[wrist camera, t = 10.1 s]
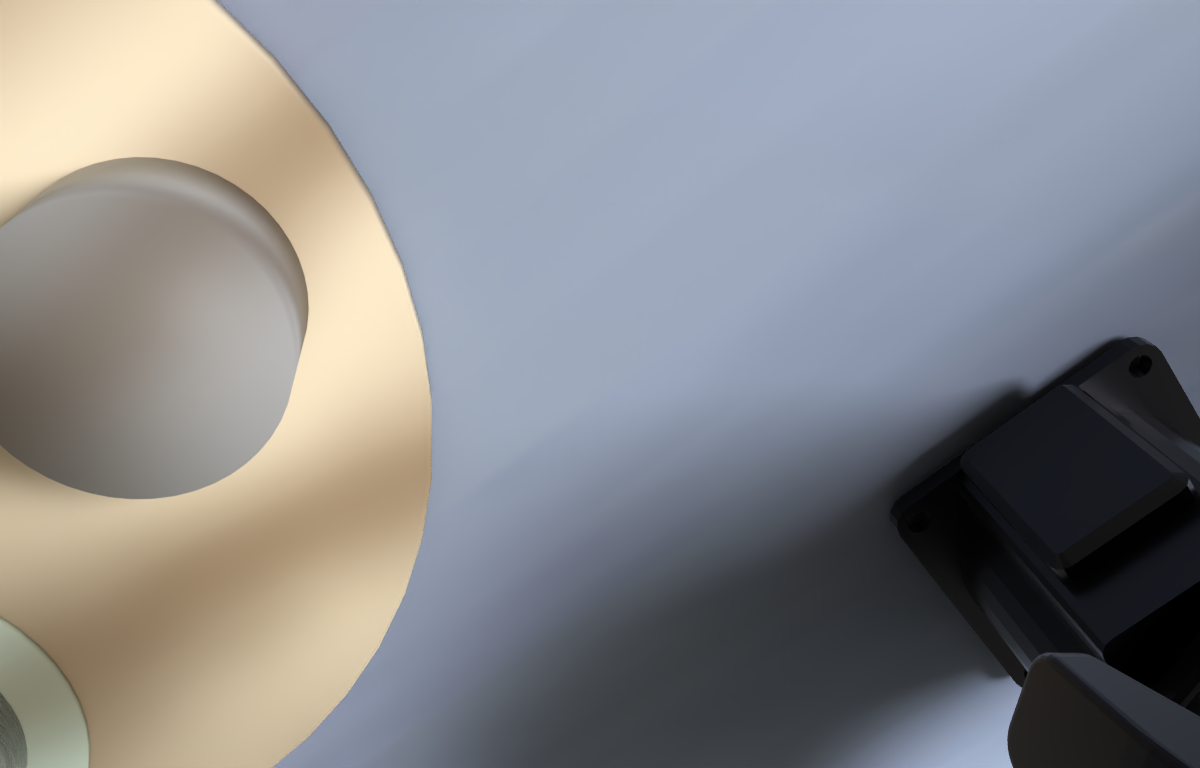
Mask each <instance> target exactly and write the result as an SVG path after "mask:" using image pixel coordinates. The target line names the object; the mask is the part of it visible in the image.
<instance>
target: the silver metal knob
mask: <svg viewBox="0 0 1200 768" xmlns="http://www.w3.org/2000/svg"><path fill="white" fill-rule="evenodd" d="M27 764H28V754H27V744H26V739H25V734H24V731H23V729H22V726H21V723H20V721H19V719H18V717H17V715H16V714H15V712H14V710H13V708H12V707H11V705H10V704H9V703H8V701H7V700H6V699H5V698H4V696H3V695H2V694H1V693H0V768H27Z"/></svg>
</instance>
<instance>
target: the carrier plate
mask: <svg viewBox="0 0 1200 768" xmlns="http://www.w3.org/2000/svg"><path fill="white" fill-rule="evenodd" d="M431 478H432V403H431V389H430V382H429V375H428V368H427V362H426V355H425V348H424V341H423V334H422V328H421V325H420V322H419V318H418V315H417V311H416V308H415V305H414V301H413V298H412V294H411V291H410V288H409V284H408V281H407V277H406V274H405V271H404V267H403V264H402V261H401V259H400V257H399V254H398V252H397V250H396V248H395V245H394V243H393V241H392V239H391V236H390V234H389V232H388V230H387V227H386V225H385V223H384V221H383V219H382V216H381V214H380V212H379V210H378V207H377V205H376V203H375V201H374V198H373V196H372V194H371V192H370V191H369V189H368V187H367V186H366V184H365V182H364V181H363V179H362V178H361V176H360V174H359V173H358V171H357V169H356V168H355V166H354V164H353V163H352V161H351V160H350V158H349V156H348V155H347V153H346V151H345V150H344V148H343V147H342V145H341V143H340V142H339V140H338V138H337V137H336V135H335V134H334V132H333V130H332V129H331V127H330V125H329V124H328V123H327V122H326V120H325V119H324V118H323V117H322V115H321V114H320V113H319V111H318V110H317V109H316V108H315V106H314V105H313V104H312V103H311V101H310V100H309V99H308V98H307V96H306V95H305V94H304V93H303V91H302V90H301V89H300V88H299V86H298V85H297V84H296V83H295V81H294V80H293V79H292V78H291V76H290V75H289V74H288V73H287V71H286V70H285V69H284V68H283V66H282V65H281V64H280V63H279V61H278V60H277V59H276V58H275V57H274V56H273V55H272V54H271V53H270V52H269V51H268V50H267V49H266V48H265V47H264V46H263V45H262V44H261V43H260V42H259V41H258V40H257V39H256V38H255V37H254V36H253V35H252V34H251V33H250V32H249V31H248V30H247V29H246V28H245V27H244V26H243V25H242V24H241V23H240V22H239V21H238V20H237V19H236V18H235V17H234V16H233V15H232V14H231V13H230V12H229V11H228V10H227V9H226V8H225V7H224V6H223V5H222V4H220V3H219V2H218V1H217V0H0V693H1V694H2V695H3V696H4V698H5V699H6V700H7V701H8V703H9V704H10V705H11V707H12V708H13V710H14V712H15V714H16V715H17V717H18V719H19V721H20V723H21V726H22V729H23V731H24V734H25V739H26V744H27V754H28V764H27V768H272V767H274V766H275V765H276V764H277V763H278V762H279V761H281V760H282V759H283V758H284V757H285V756H287V755H288V754H289V753H290V752H291V751H292V750H294V749H295V748H296V747H297V746H298V745H300V744H301V743H302V742H303V741H304V740H305V739H307V738H308V737H309V736H310V735H311V733H312V732H313V731H314V730H315V729H316V728H317V727H318V726H319V725H320V724H321V722H322V721H323V720H324V719H325V718H326V717H327V716H328V715H329V714H330V712H331V711H332V710H333V709H334V708H335V707H336V706H337V705H338V704H339V703H340V701H341V700H342V699H343V698H344V697H345V696H346V695H347V693H348V692H349V691H350V689H351V688H352V686H353V685H354V683H355V682H356V680H357V679H358V677H359V676H360V674H361V673H362V671H363V670H364V669H365V667H366V666H367V664H368V663H369V661H370V660H371V658H372V657H373V655H374V654H375V652H376V651H377V649H378V648H379V646H380V644H381V642H382V640H383V638H384V636H385V634H386V632H387V630H388V628H389V626H390V624H391V622H392V620H393V617H394V615H395V613H396V611H397V609H398V607H399V605H400V603H401V601H402V599H403V597H404V595H405V592H406V589H407V585H408V582H409V579H410V576H411V573H412V569H413V566H414V563H415V560H416V557H417V553H418V550H419V547H420V544H421V541H422V537H423V530H424V524H425V517H426V511H427V504H428V498H429V491H430V484H431Z"/></svg>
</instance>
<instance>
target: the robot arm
mask: <svg viewBox="0 0 1200 768" xmlns="http://www.w3.org/2000/svg"><path fill="white" fill-rule="evenodd" d="M1140 355H1141V359H1140V361H1139V363H1138V364H1137V365H1136V366H1135V367H1134V368H1132V369H1130V370H1129V366H1130V363H1131V362H1132V361H1133V360H1134V359H1135V358H1136V357H1138V356H1140ZM918 512H923V514H922V516H921V517H920V518H919V519H918V520H917V521H915V522H912V523H908V521H909V519H910V518H911V517H912V515H913V514H916V513H918ZM890 521H891V523H892V525H893V527H894V528H895V530H896V531H897V532H898V534H899V535H900V537H901V538H902V539H903V540H904V542H905V543H906V544H907V545H908V547H909V548H910V549H911V550H912V552H913V553H914V554H915V556H916V557H917V558H918V559H919V561H920V562H921V563H922V564H923V566H924V567H925V568H926V569H927V571H928V572H929V573H930V575H931V576H932V577H933V578H934V580H935V581H936V582H937V583H938V585H939V586H940V587H941V589H942V590H943V591H944V592H945V594H946V595H947V596H948V597H949V599H950V600H951V601H952V602H953V604H954V605H955V606H956V608H957V609H958V610H959V611H960V613H961V614H962V615H963V616H964V618H965V619H966V620H967V622H968V623H969V624H970V625H971V627H972V628H973V629H974V630H975V632H976V633H977V634H978V635H979V637H980V638H981V639H982V641H983V642H984V643H985V644H986V646H987V647H988V648H989V649H990V651H991V652H992V653H993V655H994V656H995V657H996V658H997V660H998V661H999V662H1000V663H1001V665H1002V666H1003V667H1004V668H1005V670H1006V671H1007V672H1008V674H1009V675H1010V676H1011V677H1012V679H1013V680H1014V681H1015V682H1016V684H1018V685H1019V686H1020V687H1023V688H1022V691H1021V694H1020V697H1019V699H1018V702H1017V705H1016V708H1015V711H1014V714H1013V717H1012V720H1011V723H1010V726H1009V730H1008V739H1007V741H1008V751H1009V756H1010V760H1011V763H1012V766H1013V768H1200V418H1199V416H1198V415H1197V413H1196V411H1195V409H1194V408H1193V406H1192V404H1191V402H1190V401H1189V399H1188V397H1187V396H1186V394H1185V392H1184V390H1183V389H1182V387H1181V385H1180V383H1179V382H1178V380H1177V378H1176V376H1175V375H1174V373H1173V371H1172V369H1171V368H1170V366H1169V364H1168V362H1167V361H1166V359H1165V357H1164V355H1163V354H1162V352H1161V351H1160V350H1159V349H1158V348H1157V347H1156V346H1155V345H1153V344H1152V343H1150V342H1149V341H1147V340H1146V339H1143V338H1140V337H1130V338H1127V339H1125V340H1123V341H1121V342H1119V343H1118V344H1116V345H1115V346H1113V347H1112V348H1110V349H1109V350H1108V351H1106V352H1105V353H1103V354H1102V355H1101V356H1099V357H1098V358H1096V359H1095V360H1094V361H1092V362H1091V363H1089V364H1088V365H1087V366H1085V367H1084V368H1082V369H1081V370H1080V371H1078V372H1077V373H1075V374H1074V375H1073V376H1071V377H1070V378H1068V379H1067V380H1065V381H1064V382H1063V383H1061V384H1060V385H1058V386H1057V387H1055V388H1054V389H1053V390H1051V391H1050V392H1048V393H1047V394H1046V395H1044V396H1043V397H1041V398H1040V399H1039V400H1037V401H1036V402H1034V403H1033V404H1032V405H1030V406H1029V407H1027V408H1026V409H1025V410H1023V411H1022V412H1020V413H1019V414H1018V415H1016V416H1015V417H1013V418H1012V419H1010V420H1009V421H1008V422H1006V423H1005V424H1003V425H1002V426H1001V427H999V428H998V429H996V430H995V431H994V432H992V433H991V434H989V435H988V436H987V437H985V438H984V439H982V440H981V441H980V442H978V443H977V444H975V445H974V446H973V447H971V448H970V449H968V450H967V451H966V452H964V453H963V454H961V455H960V456H959V457H957V458H956V459H954V460H953V461H952V462H950V463H949V464H947V465H946V466H945V467H943V468H942V469H940V470H939V471H937V472H936V473H935V474H933V475H932V476H930V477H929V478H928V479H926V480H925V481H923V482H922V483H921V484H919V485H918V486H916V487H915V488H914V489H912V490H911V491H909V492H908V493H907V494H905V495H904V496H902V497H901V498H900V499H899V500H898V501H897V502H896V503H895V504H894V505H893V507H892V509H891V512H890Z"/></svg>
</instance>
